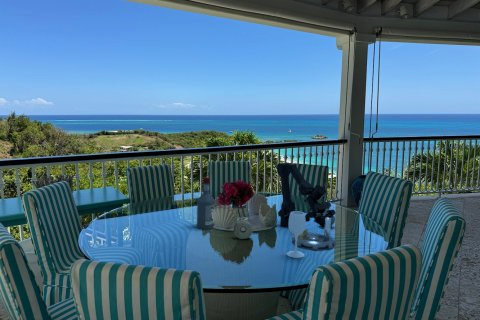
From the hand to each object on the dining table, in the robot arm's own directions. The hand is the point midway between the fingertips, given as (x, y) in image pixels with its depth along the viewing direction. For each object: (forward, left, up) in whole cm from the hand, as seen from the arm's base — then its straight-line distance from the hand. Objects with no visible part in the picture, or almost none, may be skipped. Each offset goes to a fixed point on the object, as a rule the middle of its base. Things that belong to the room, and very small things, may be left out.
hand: (326, 228), depth 203 cm
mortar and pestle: (0, +33, -8) cm, 34 cm away
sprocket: (-7, -3, -8) cm, 11 cm away
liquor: (-71, +8, -8) cm, 71 cm away
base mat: (-7, -3, -8) cm, 11 cm away
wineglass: (-15, -23, -8) cm, 29 cm away
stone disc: (-45, -6, -8) cm, 46 cm away
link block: (-13, -1, -5) cm, 14 cm away
